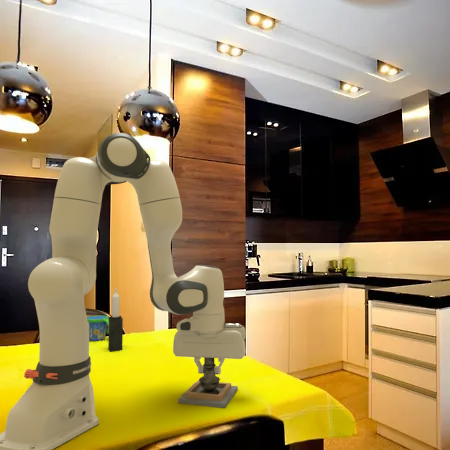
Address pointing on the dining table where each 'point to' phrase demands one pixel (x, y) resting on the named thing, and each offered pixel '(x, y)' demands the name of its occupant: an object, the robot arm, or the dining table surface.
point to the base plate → (209, 395)
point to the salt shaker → (209, 377)
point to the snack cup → (98, 327)
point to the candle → (115, 326)
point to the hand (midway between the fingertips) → (209, 373)
